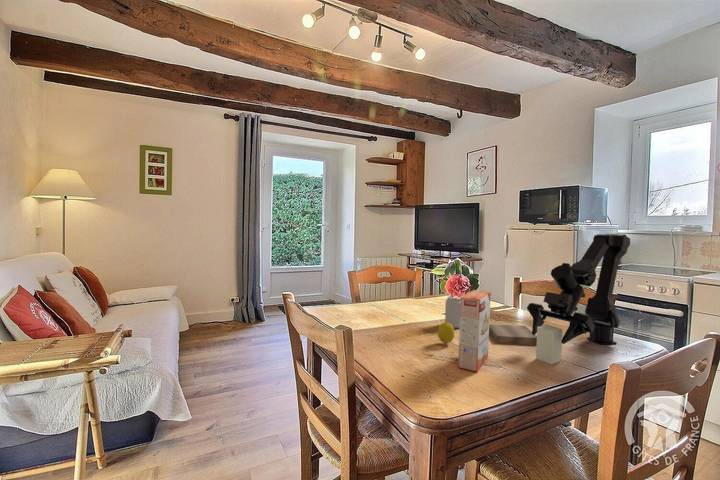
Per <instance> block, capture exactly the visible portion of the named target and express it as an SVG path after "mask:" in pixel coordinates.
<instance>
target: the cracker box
mask: <svg viewBox="0 0 720 480" xmlns="http://www.w3.org/2000/svg"><path fill="white" fill-rule="evenodd" d="M491 295H492V293H491V291H487V290H477V289H473V290H471V291H469V292H467V293H466V294H464V295H462V296H460V297H461V306H460V328H459V337H458V338H459V340H458V341H459V342H458V361H457V362H458V364H457V365H458V366H457V367H458V368H459V369H463V370H467V371H471V372H476V373H478V372H479V370H480V369H481V367H482V366H483V364H484V363H485V362H486V360H487V359H488V358H489V341H490V339H489V338H490V333H489V324H490V318H491V317H490V316H491V314H490V313H491V299H492V298H491V297H492V296H491Z"/></svg>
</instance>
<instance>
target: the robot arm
mask: <svg viewBox="0 0 720 480" xmlns="http://www.w3.org/2000/svg"><path fill="white" fill-rule="evenodd" d="M592 239H593V240H592V242H590V244H589V247H588V248H587V249H586V251H585V253H584V254H583V256H582V257H581V259H580V260H579V261H576V262H574V263H573V264H572V265H571V264H570V263H568V262H566V263H565V262H563V263H562V264H561V265H557V266H555V267H554V268H552V269H551V271H550V275H551V277H552V279H553V281H554V282H555V285H556V286H557V288H559V289H560V290H561V291H560V292H559V293H555V292H549V291H546V292H545V295H544V299H543V303H546V304H547V307H548V309H550V310H548V309H545V308H544V306H543V305H542V304H539V303H535V302H530V303H529V304H528V305H527V306H526V309H527V312H528V313H529V314H530V316H531V317H532V329H531V331H532V334H533V335H537V327H539V326H543V325H545V320H546V318H547V317H548V318H551V319H555V320H560V321H563V322H568V323H569V325H568V327H567V329H566V331H565V333H564V335H562V341H561V342H562V345H565V344H566V343H568V342H570V341H571V340H573V339H575V338H577V337H579V336H581V335H582V334H583V335H587V333H589V336H587V337H586V339H587V340H590V341H592V342H594V343H597V344H599V345H614V344H615V345H617V344H618V343H617V341H615V340H614V328H615V329H618V328H619V326H620V321H621V320H620V318H619V316H618V314H617V312H616V305H615V303H614V301H613V293H614V289H615V283H616V278H617V273H618V268H619V263H620V260H621V258H623V257H624V255H626V254H627V252H628V250H629V247H630V246H631V238H630V237H628V235H627V234H625V233H598V234H597V233H596V234H594V236H593V238H592ZM601 261H602V262H601ZM600 262H601V266H600V270H599V277H598V281H597V284H596V285H597V286H596V291H595V294H594V295H593V296H592V297H589V298H587V302H586V303H587V304H586V306H585V308H584V309H585V310H584V313H583V312H582V313H581V312H578V304H579V303H580V300H581V299H582V298H585V297H586V293H585V290H584V288H583V287H591V286H592V285H593V284H594V283H595V281H596V278H597V273H596V269H597V267H598V265H599V264H600Z"/></svg>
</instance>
